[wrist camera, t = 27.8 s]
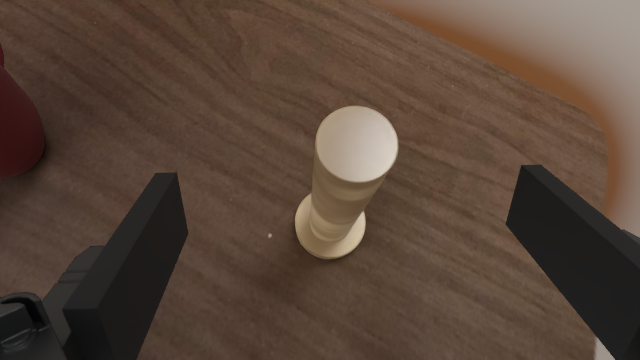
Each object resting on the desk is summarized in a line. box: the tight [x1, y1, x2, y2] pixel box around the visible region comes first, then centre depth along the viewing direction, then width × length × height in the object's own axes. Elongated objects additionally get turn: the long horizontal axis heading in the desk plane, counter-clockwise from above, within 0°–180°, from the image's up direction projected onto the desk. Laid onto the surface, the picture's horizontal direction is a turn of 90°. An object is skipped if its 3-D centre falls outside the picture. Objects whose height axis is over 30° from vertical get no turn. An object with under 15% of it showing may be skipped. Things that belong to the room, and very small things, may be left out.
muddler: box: [295, 106, 399, 259], centre depth 19 cm, size 4×4×14 cm
